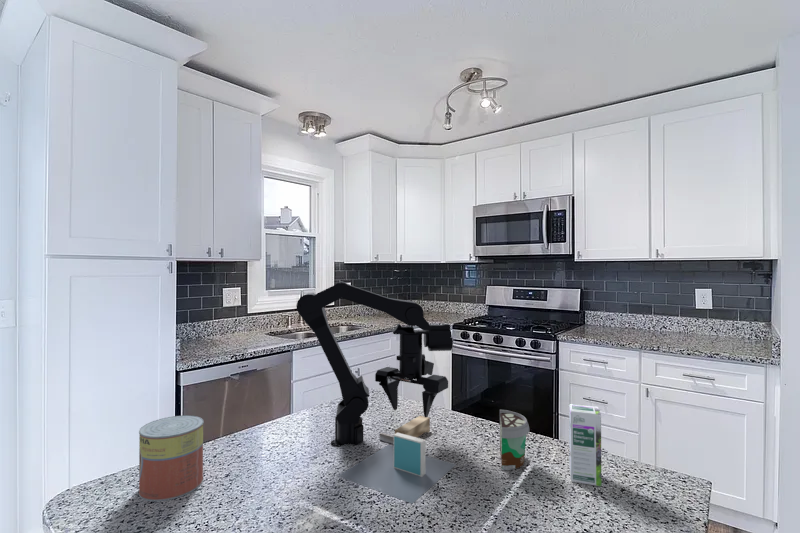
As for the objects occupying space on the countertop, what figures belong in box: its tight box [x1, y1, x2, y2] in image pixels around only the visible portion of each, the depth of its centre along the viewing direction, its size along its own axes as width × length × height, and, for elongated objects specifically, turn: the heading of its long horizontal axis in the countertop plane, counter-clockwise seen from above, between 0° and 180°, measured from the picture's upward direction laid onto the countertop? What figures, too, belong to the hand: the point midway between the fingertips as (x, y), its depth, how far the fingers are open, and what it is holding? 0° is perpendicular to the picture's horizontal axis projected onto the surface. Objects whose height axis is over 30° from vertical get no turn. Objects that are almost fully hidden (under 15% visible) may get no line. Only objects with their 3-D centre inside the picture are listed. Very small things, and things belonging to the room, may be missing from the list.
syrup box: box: [568, 403, 603, 488], centre depth 85 cm, size 6×6×14 cm
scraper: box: [379, 415, 431, 445], centre depth 105 cm, size 13×11×4 cm
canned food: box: [138, 414, 205, 502], centre depth 82 cm, size 11×11×12 cm
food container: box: [499, 409, 530, 471], centre depth 91 cm, size 12×6×10 cm, turn 168°
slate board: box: [337, 444, 457, 505], centre depth 87 cm, size 18×18×1 cm
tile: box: [393, 432, 426, 477], centre depth 87 cm, size 7×2×7 cm, turn 56°
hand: (410, 413), depth 104 cm, fingers open, 9 cm apart
